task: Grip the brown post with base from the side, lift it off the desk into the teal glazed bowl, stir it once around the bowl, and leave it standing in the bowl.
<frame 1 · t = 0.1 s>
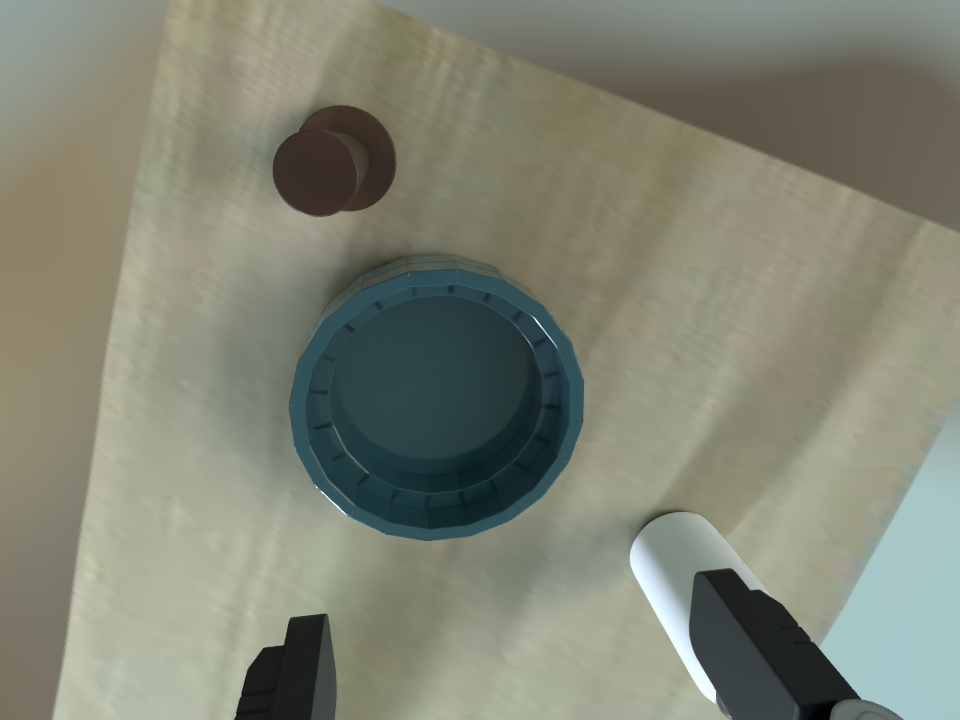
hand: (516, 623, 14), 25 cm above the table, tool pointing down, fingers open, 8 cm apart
can: (670, 545, 45), on the table
bowl: (435, 381, 38), on the table
brown post with base: (346, 159, 34), on the table
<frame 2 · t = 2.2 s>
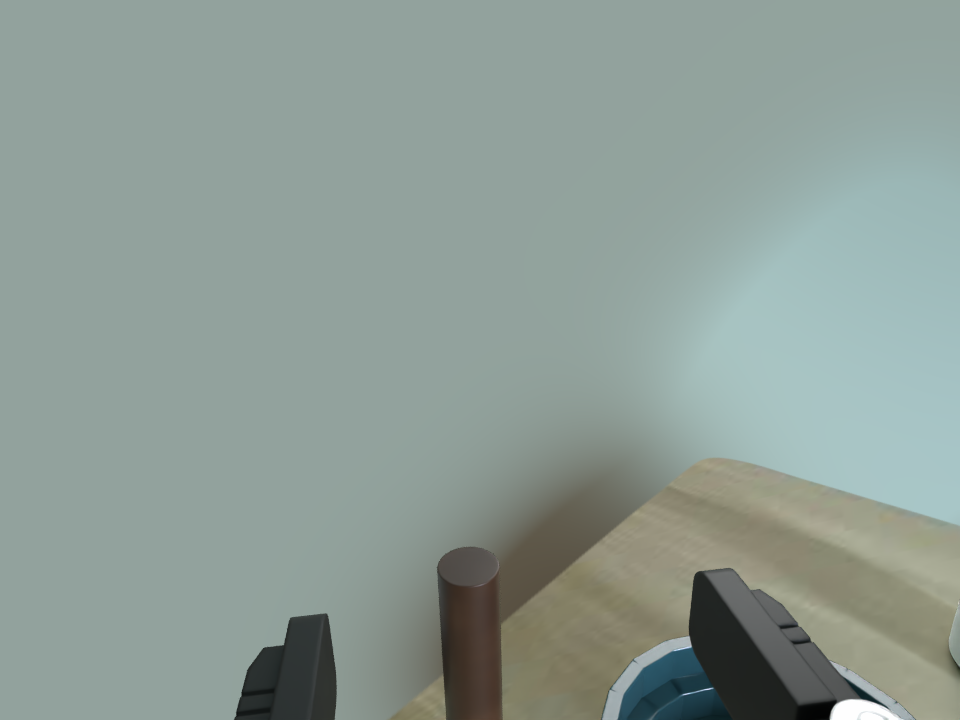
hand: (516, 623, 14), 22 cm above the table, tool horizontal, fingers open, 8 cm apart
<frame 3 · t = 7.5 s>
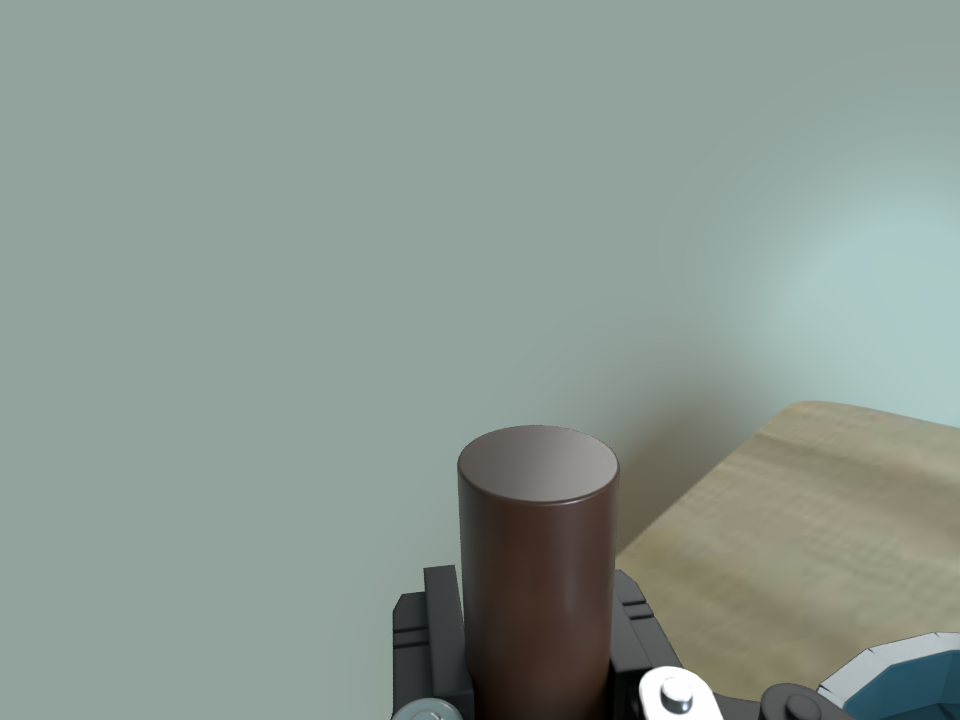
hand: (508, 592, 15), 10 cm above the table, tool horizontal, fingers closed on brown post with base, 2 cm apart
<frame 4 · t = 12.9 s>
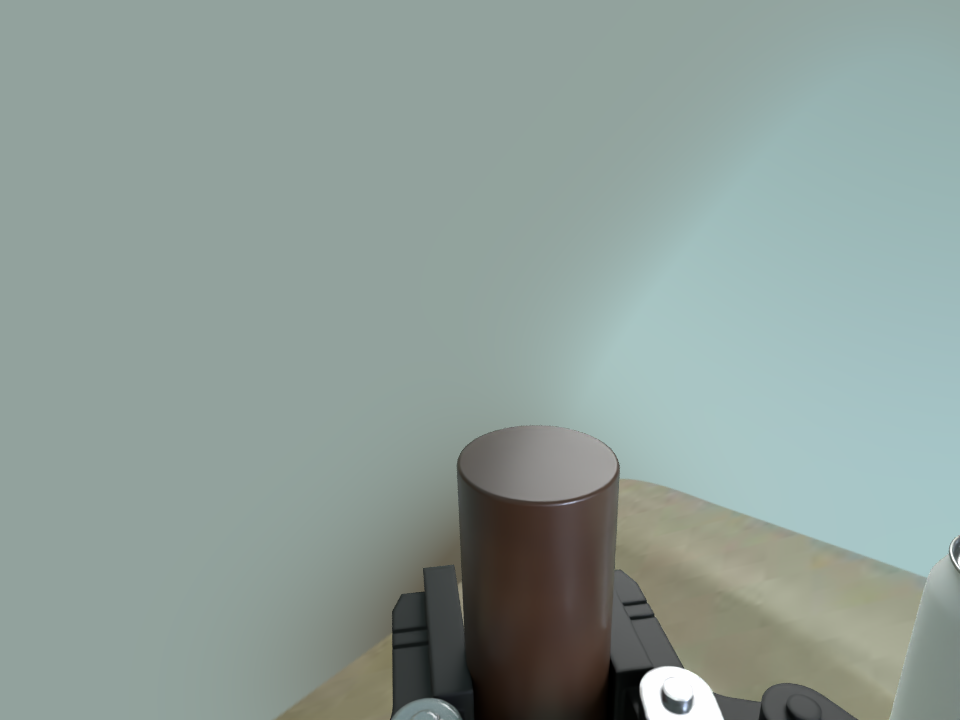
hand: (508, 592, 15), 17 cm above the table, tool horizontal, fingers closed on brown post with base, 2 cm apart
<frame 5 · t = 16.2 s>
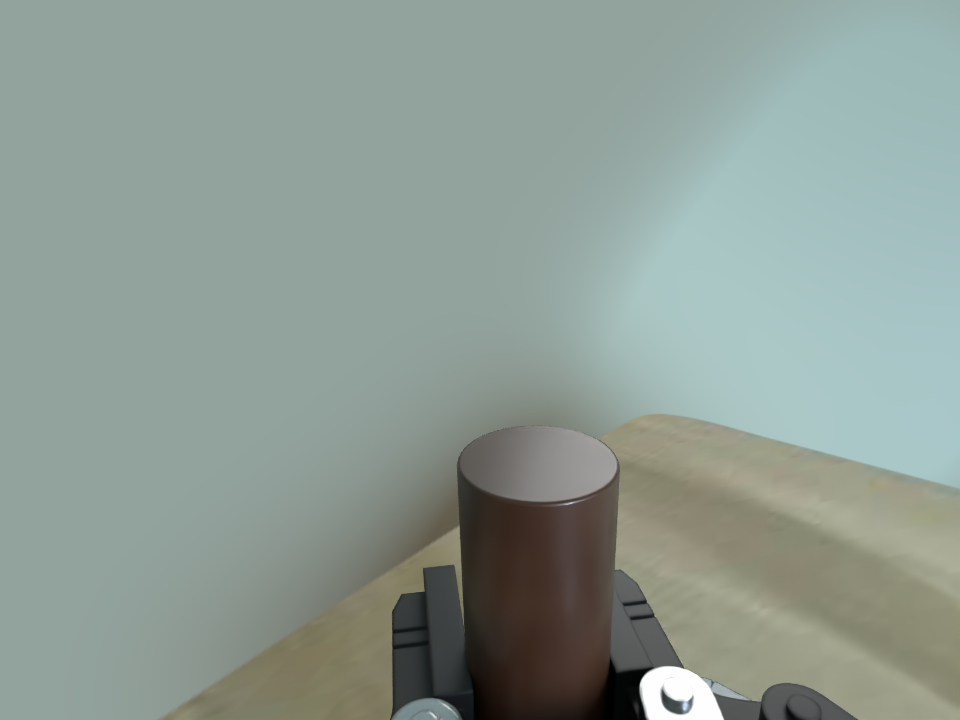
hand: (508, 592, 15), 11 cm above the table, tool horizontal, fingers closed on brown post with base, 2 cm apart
when the fingers open (11 cm above the table, at t = 18.5 s): brown post with base stays where it is, resting on bowl.
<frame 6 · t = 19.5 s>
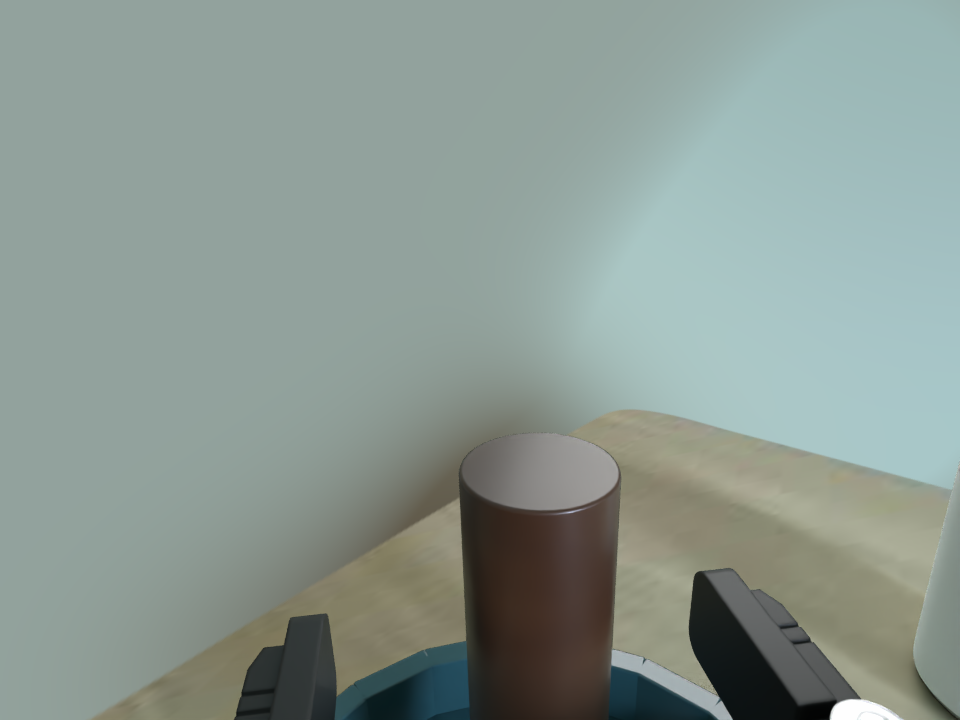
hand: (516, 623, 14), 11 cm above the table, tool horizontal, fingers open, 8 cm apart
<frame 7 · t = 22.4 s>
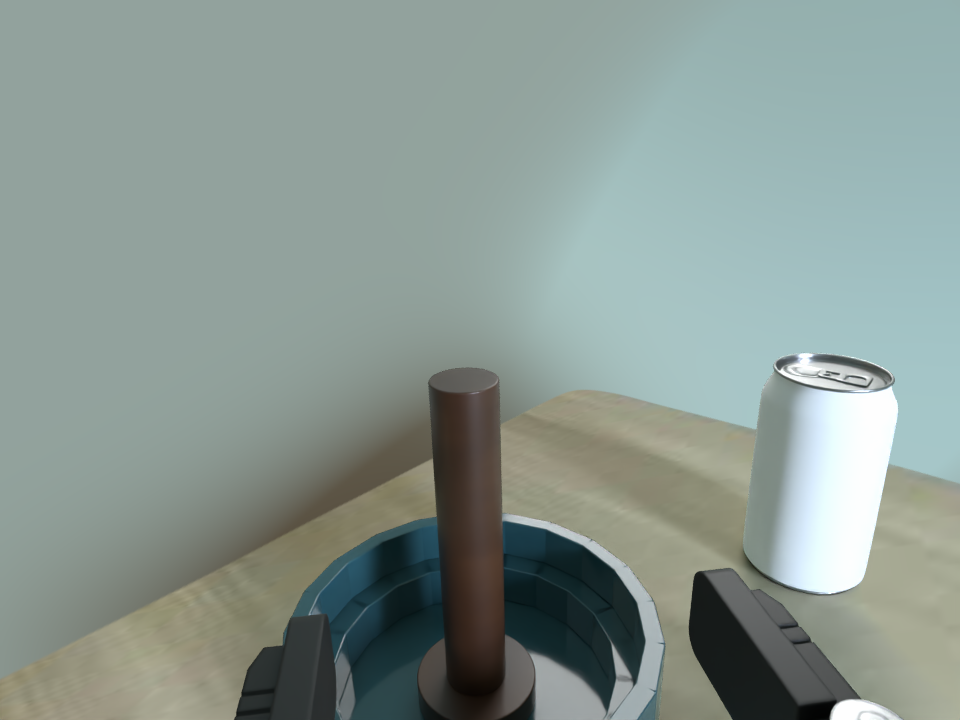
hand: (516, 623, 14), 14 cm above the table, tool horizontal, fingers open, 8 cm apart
can: (800, 563, 37), on the table
bowl: (476, 705, 29), on the table
brown post with base: (477, 692, 28), point 1 cm above the table, touching bowl
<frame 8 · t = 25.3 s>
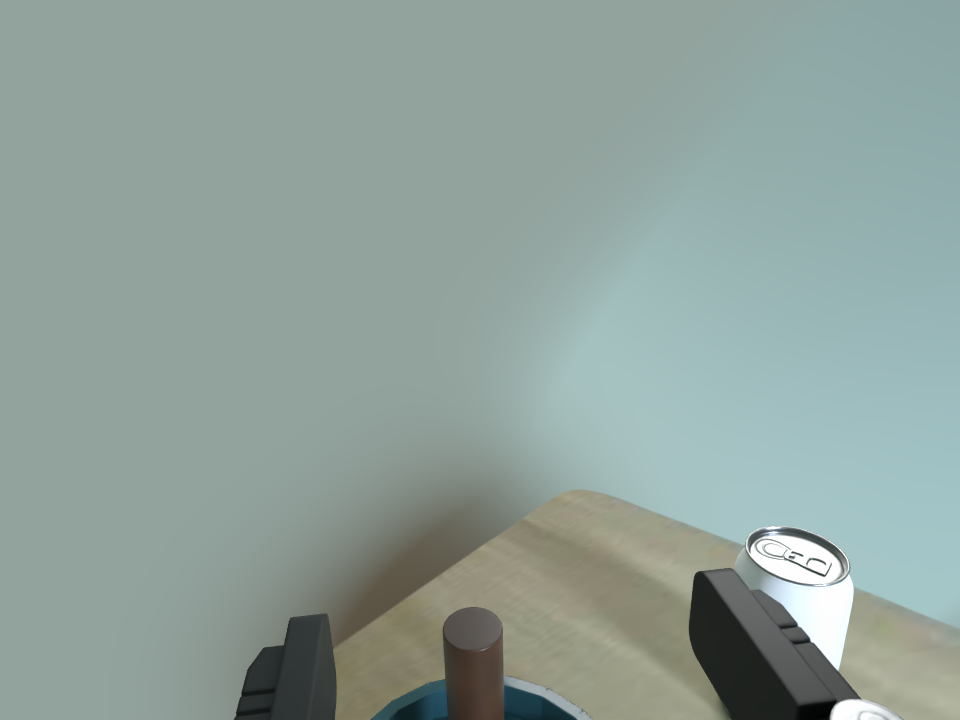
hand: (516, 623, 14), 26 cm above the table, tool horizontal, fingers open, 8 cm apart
can: (770, 708, 42), on the table
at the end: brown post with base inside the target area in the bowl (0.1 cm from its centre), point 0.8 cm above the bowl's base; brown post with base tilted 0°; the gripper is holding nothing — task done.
